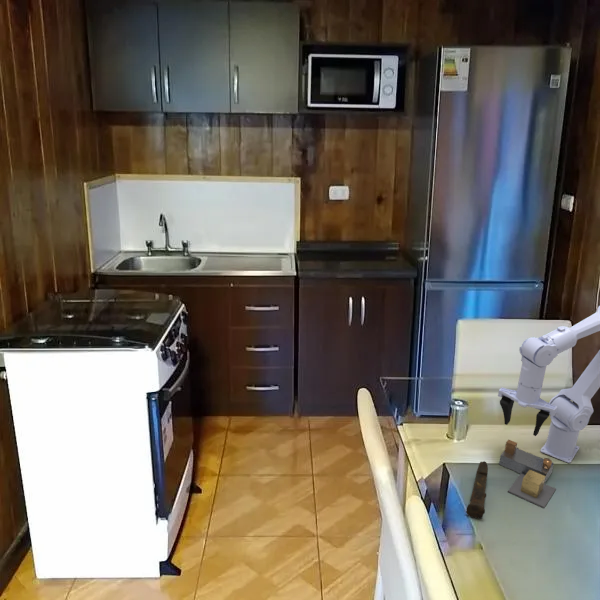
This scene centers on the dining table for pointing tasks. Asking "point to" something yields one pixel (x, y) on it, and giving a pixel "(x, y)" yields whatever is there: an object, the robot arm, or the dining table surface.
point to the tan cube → (533, 483)
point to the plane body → (524, 461)
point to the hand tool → (478, 492)
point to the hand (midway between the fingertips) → (521, 428)
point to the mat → (539, 501)
